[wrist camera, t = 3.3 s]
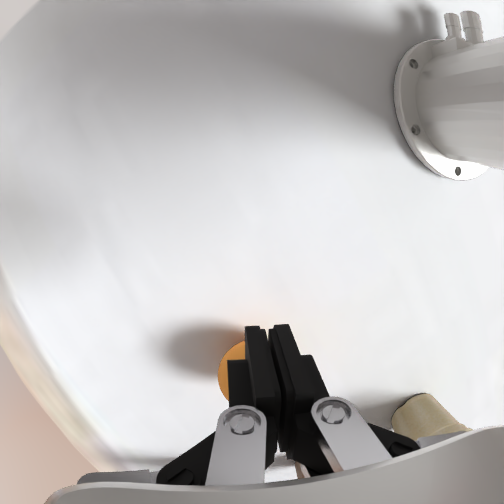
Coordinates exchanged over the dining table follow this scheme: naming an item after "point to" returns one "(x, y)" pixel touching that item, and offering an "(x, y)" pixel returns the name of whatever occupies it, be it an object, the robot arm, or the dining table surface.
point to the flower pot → (424, 418)
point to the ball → (232, 354)
